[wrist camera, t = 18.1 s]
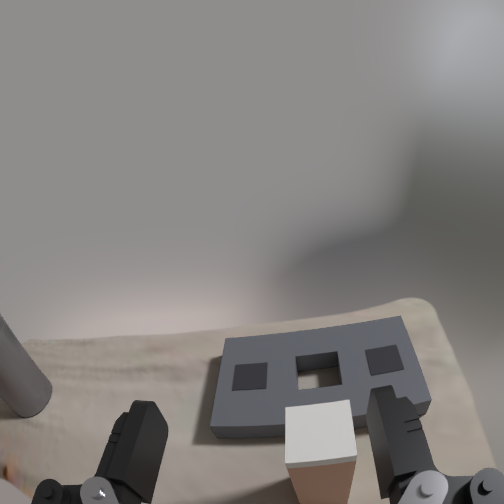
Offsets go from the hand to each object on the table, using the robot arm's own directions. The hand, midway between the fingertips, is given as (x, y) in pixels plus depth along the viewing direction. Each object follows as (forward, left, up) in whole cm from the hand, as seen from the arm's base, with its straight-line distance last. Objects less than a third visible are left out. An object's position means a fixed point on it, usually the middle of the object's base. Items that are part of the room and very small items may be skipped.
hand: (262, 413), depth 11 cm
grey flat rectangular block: (+2, +18, -23) cm, 29 cm away
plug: (+2, +4, -23) cm, 23 cm away
